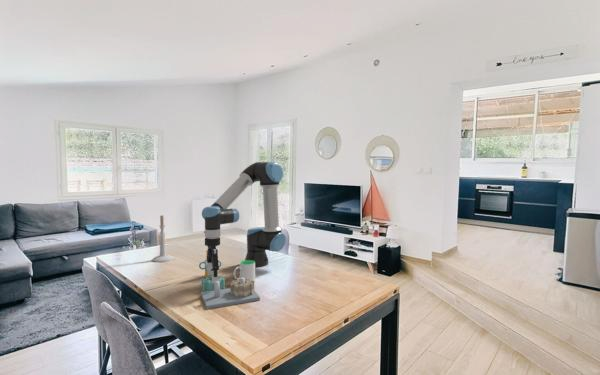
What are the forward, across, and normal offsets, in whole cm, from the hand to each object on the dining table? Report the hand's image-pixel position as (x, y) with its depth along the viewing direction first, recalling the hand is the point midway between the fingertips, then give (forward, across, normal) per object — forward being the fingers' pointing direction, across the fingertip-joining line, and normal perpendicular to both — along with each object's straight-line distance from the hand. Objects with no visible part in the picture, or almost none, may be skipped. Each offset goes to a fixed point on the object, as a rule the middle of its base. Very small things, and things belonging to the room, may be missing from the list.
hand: (212, 279), depth 168 cm
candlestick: (+5, -68, -21) cm, 71 cm away
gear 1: (+5, 0, 0) cm, 5 cm away
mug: (+5, -3, +17) cm, 18 cm away
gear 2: (+4, +15, +11) cm, 19 cm away
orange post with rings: (+5, -20, +2) cm, 21 cm away
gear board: (+5, +15, +5) cm, 17 cm away
